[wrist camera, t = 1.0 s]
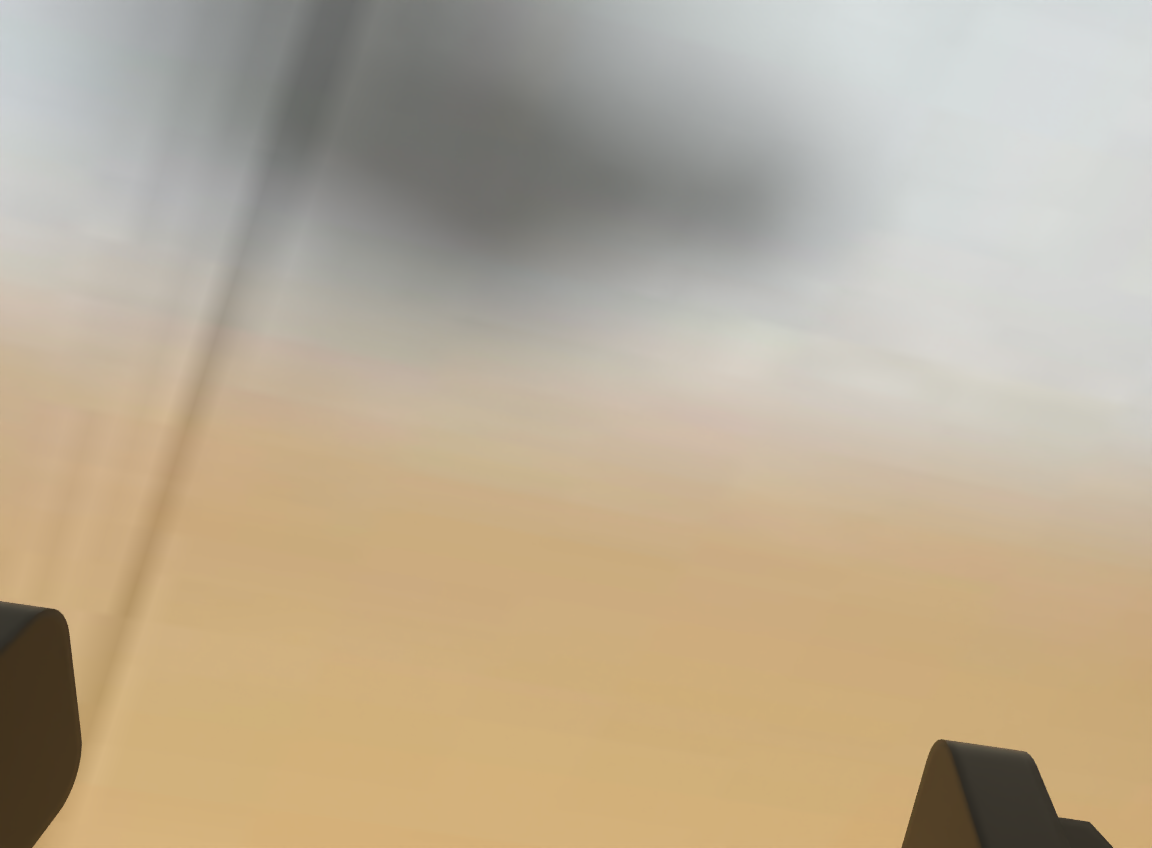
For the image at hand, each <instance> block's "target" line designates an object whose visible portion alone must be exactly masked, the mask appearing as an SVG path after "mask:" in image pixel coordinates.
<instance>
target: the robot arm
mask: <svg viewBox="0 0 1152 848" xmlns="http://www.w3.org/2000/svg"><path fill="white" fill-rule="evenodd" d="M81 747H82V741H81V730H80V721H79V713H78V704H77V696H76V687H75V678H74V670H73V661H72V653H71V644H70V636H69V629H68V625H67V622H66V619H65V618H64V616H63V614H61V613H60V612H59V611H58V610H55V609H50V608H43V607H36V606H30V605H23V604H16V603H9V602H2V601H0V848H32V847H33V846H34V845H35V843H36V842H37V841H38V839H39V838H40V837H41V835H42V834H43V833H44V831H45V830H46V829H47V827H48V826H49V825H50V823H51V822H52V821H53V819H54V818H55V817H56V815H57V814H58V813H59V811H60V810H61V808H62V807H63V805H64V803H65V802H66V800H67V798H68V796H69V794H70V791H71V789H72V787H73V784H74V781H75V779H76V775H77V772H78V768H79V763H80V757H81ZM902 848H1113V847H1112V846H1111V845H1110V844H1109V842H1108V841H1107V840H1106V839H1105V838H1104V837H1103V836H1102V835H1101V834H1100V833H1099V832H1098V831H1097V830H1096V828H1095V827H1094V826H1093V825H1092V824H1091V823H1090V822H1086V821H1080V820H1073V819H1066V818H1059V817H1058V816H1057V814H1056V811H1055V809H1054V806H1053V804H1052V802H1051V799H1050V797H1049V794H1048V792H1047V790H1046V787H1045V785H1044V782H1043V780H1042V778H1041V775H1040V773H1039V770H1038V768H1037V766H1036V764H1035V762H1034V760H1033V758H1032V757H1031V756H1030V755H1029V754H1028V753H1027V752H1024V751H1018V750H1011V749H1004V748H997V747H991V746H984V745H977V744H970V743H963V742H956V741H949V740H942V739H941V740H938V741H937V742H935V743H934V745H933V746H932V748H931V750H930V753H929V755H928V758H927V761H926V765H925V768H924V772H923V775H922V779H921V782H920V786H919V789H918V793H917V796H916V800H915V803H914V807H913V810H912V814H911V817H910V820H909V824H908V827H907V831H906V834H905V838H904V841H903V845H902Z"/></svg>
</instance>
